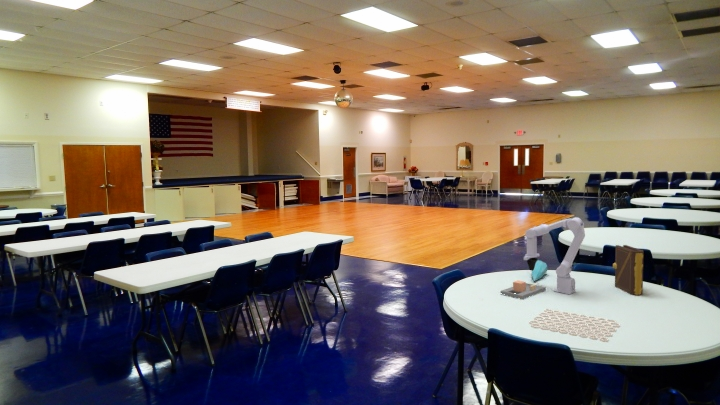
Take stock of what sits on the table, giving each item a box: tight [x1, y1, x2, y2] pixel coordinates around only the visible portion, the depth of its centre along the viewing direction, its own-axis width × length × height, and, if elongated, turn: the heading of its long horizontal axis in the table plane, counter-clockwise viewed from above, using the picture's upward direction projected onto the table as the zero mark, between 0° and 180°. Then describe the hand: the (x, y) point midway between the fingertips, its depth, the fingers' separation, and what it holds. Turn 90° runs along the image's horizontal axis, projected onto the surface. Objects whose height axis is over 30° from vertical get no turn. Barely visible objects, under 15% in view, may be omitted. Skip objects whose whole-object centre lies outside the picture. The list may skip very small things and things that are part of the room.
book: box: [612, 244, 645, 296], centre depth 270 cm, size 22×8×25 cm, turn 179°
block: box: [512, 280, 527, 292], centre depth 270 cm, size 5×5×5 cm
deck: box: [500, 282, 547, 300], centre depth 272 cm, size 14×25×4 cm, turn 129°
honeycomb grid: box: [528, 308, 621, 343], centre depth 219 cm, size 30×35×1 cm
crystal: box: [531, 259, 548, 282], centre depth 306 cm, size 10×34×10 cm, turn 152°
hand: (531, 270), depth 282 cm, fingers closed
